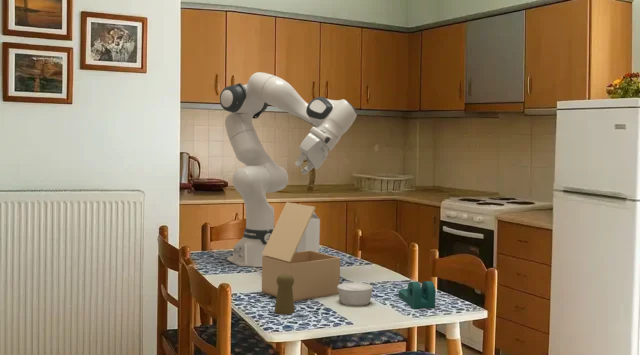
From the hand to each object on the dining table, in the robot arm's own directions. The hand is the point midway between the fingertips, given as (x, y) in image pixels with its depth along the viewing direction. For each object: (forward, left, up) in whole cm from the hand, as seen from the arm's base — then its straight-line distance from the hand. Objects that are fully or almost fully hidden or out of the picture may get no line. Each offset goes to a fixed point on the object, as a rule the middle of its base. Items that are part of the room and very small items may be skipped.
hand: (299, 169), depth 253 cm
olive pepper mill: (+34, -30, -39) cm, 60 cm away
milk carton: (-40, +36, -40) cm, 67 cm away
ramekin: (+37, -5, -40) cm, 54 cm away
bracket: (+46, +12, -40) cm, 62 cm away
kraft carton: (+18, -12, -39) cm, 45 cm away
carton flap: (+18, -17, -18) cm, 31 cm away
